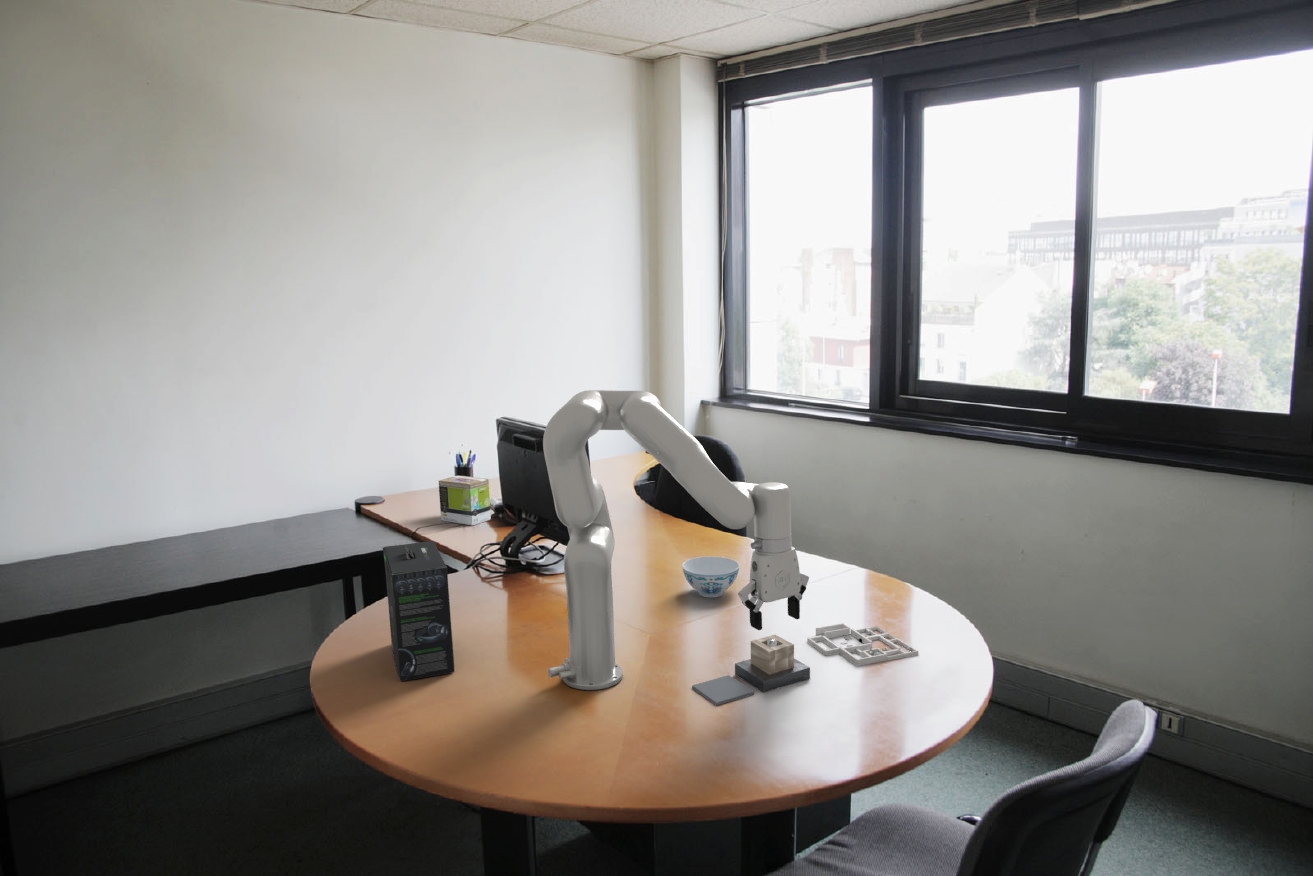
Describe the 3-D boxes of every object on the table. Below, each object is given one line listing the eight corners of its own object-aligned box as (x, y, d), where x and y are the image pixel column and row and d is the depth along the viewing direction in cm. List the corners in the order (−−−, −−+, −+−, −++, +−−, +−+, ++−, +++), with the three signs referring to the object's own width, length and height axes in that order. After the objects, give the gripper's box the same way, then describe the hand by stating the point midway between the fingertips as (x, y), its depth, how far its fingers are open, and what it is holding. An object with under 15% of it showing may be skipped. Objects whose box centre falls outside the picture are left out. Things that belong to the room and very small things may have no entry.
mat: (716, 705, 179) (716, 702, 179) (692, 688, 187) (692, 685, 187) (753, 694, 184) (753, 691, 184) (728, 677, 191) (728, 675, 191)
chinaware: (747, 587, 245) (747, 560, 244) (727, 606, 232) (727, 577, 230) (695, 580, 251) (695, 553, 250) (673, 598, 238) (673, 570, 237)
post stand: (763, 692, 184) (763, 655, 183) (735, 674, 193) (734, 638, 191) (809, 678, 190) (810, 642, 189) (780, 661, 199) (780, 626, 197)
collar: (769, 674, 187) (769, 651, 186) (750, 663, 192) (750, 641, 191) (793, 667, 190) (794, 644, 189) (775, 656, 195) (775, 634, 194)
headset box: (389, 644, 213) (381, 537, 208) (442, 635, 217) (434, 531, 212) (398, 683, 192) (389, 566, 188) (456, 673, 196) (448, 558, 192)
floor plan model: (777, 642, 210) (777, 634, 209) (870, 626, 218) (870, 618, 218) (818, 675, 192) (818, 666, 192) (918, 656, 201) (918, 647, 200)
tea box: (492, 519, 319) (489, 478, 316) (471, 526, 310) (469, 484, 308) (460, 514, 327) (457, 474, 324) (440, 521, 318) (437, 479, 316)
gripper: (749, 556, 179) (752, 638, 182) (818, 539, 187) (819, 618, 190) (727, 547, 185) (730, 626, 188) (795, 531, 194) (796, 608, 197)
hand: (775, 622), depth 189 cm, fingers open, 9 cm apart
